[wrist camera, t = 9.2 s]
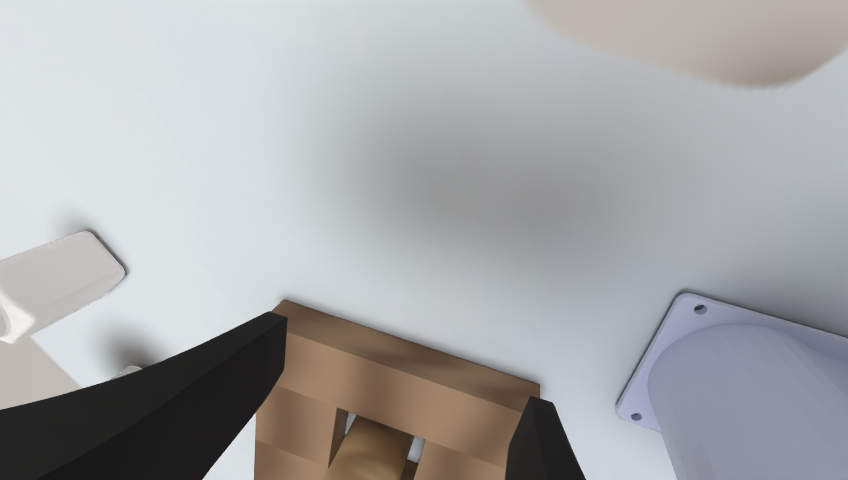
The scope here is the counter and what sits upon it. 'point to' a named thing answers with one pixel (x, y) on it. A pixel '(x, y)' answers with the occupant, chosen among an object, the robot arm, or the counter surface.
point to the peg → (370, 452)
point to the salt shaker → (53, 283)
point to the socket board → (383, 402)
